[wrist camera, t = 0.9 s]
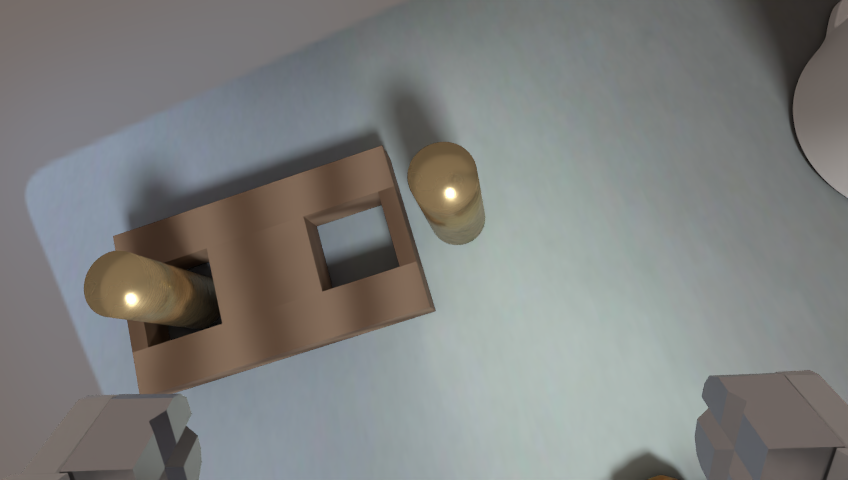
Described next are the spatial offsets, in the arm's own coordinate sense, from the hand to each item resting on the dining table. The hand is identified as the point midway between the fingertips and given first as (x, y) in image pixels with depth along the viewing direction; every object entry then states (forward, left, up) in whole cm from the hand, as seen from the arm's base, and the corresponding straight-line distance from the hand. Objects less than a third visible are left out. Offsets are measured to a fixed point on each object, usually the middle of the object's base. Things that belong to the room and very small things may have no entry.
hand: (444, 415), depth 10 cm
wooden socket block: (+13, -12, -33) cm, 37 cm away
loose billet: (-1, -12, -33) cm, 35 cm away
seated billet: (+20, -12, -33) cm, 40 cm away
